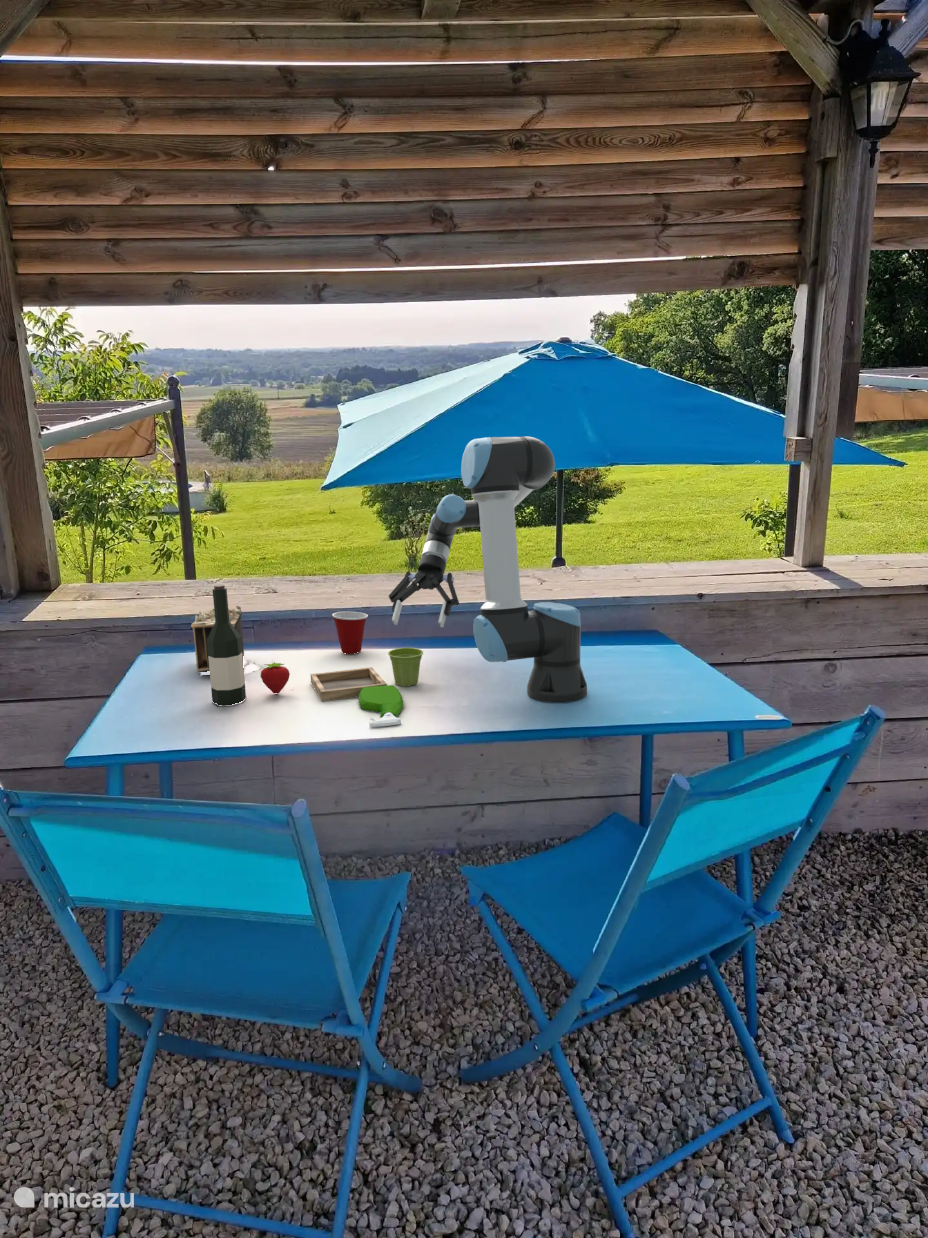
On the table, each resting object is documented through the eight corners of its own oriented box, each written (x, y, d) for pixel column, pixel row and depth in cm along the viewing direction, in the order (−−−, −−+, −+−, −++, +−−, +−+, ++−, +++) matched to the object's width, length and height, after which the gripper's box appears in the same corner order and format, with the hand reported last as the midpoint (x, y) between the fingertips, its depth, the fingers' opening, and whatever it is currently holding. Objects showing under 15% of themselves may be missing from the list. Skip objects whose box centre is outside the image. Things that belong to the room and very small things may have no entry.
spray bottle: (399, 694, 230) (411, 728, 206) (357, 698, 228) (363, 732, 204) (399, 684, 229) (410, 716, 205) (356, 687, 227) (363, 720, 204)
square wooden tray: (387, 693, 230) (386, 684, 229) (321, 701, 224) (321, 691, 224) (372, 675, 245) (372, 667, 245) (310, 683, 240) (310, 674, 240)
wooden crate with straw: (162, 667, 259) (156, 605, 254) (240, 651, 275) (235, 592, 270) (200, 688, 241) (194, 621, 236) (281, 669, 257) (277, 606, 252)
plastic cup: (374, 654, 268) (372, 615, 265) (339, 658, 264) (336, 619, 261) (364, 645, 278) (362, 608, 275) (330, 649, 274) (328, 611, 271)
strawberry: (288, 697, 228) (285, 660, 226) (259, 698, 228) (256, 660, 226) (293, 690, 234) (290, 654, 232) (264, 691, 234) (262, 654, 232)
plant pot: (426, 678, 242) (425, 647, 240) (421, 688, 233) (420, 657, 231) (392, 678, 243) (391, 647, 241) (386, 688, 234) (385, 656, 232)
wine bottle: (211, 698, 229) (200, 584, 222) (244, 694, 232) (234, 581, 225) (214, 708, 221) (203, 590, 214) (248, 703, 224) (238, 586, 217)
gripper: (478, 569, 254) (463, 632, 243) (397, 566, 261) (379, 628, 251) (472, 553, 248) (457, 618, 237) (389, 551, 255) (371, 614, 245)
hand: (417, 623), depth 244 cm, fingers open, 13 cm apart
